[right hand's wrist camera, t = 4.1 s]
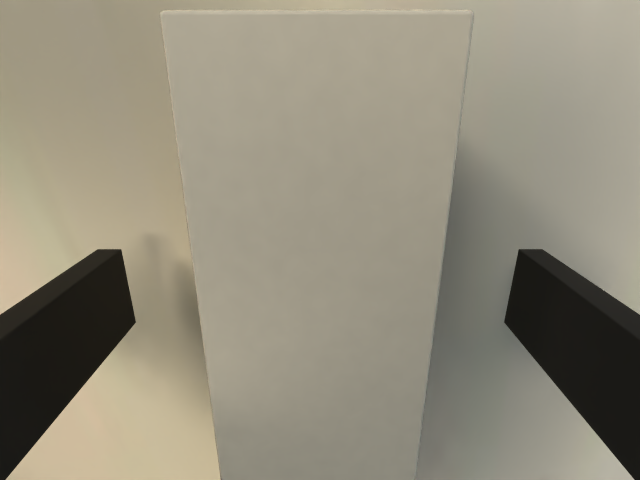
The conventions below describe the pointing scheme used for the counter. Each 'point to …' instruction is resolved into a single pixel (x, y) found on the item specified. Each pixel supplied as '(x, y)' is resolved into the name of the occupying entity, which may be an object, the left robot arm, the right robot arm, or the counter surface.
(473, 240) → the counter surface
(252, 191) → the beam
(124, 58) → the counter surface
